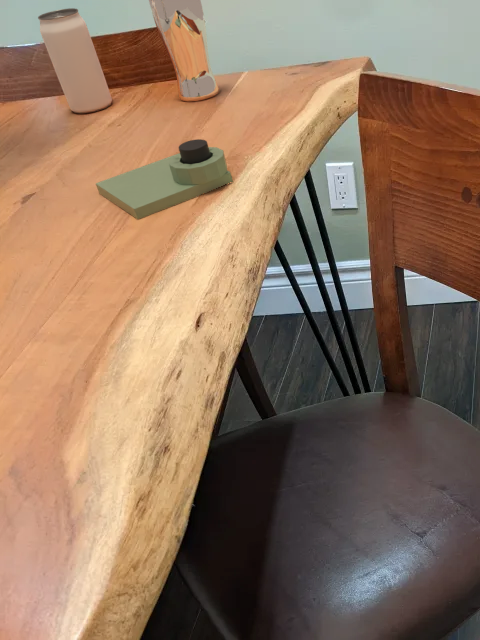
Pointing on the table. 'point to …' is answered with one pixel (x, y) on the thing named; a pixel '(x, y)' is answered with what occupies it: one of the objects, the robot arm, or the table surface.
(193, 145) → the button
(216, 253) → the table surface
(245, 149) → the table surface
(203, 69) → the beer glass
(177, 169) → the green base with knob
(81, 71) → the can
